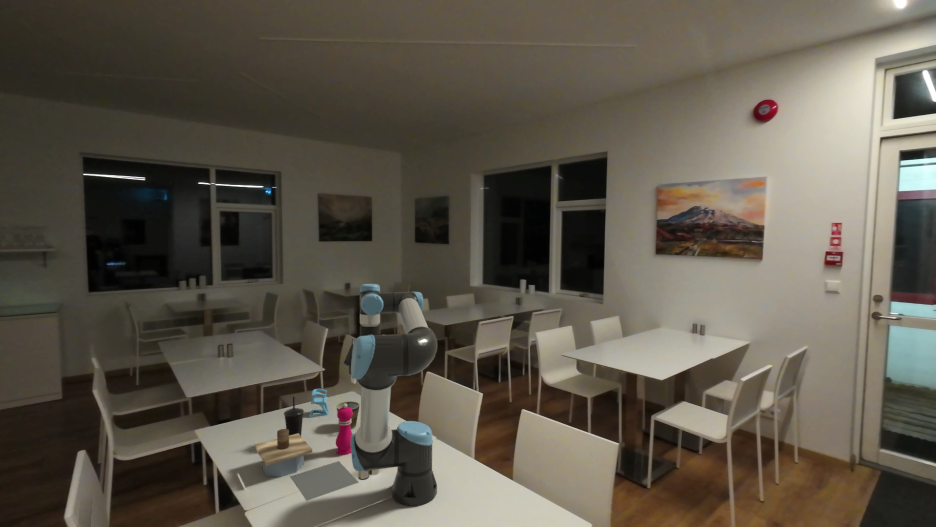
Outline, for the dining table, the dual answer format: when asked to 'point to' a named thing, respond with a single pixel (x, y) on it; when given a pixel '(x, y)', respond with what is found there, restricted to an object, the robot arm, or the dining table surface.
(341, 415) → the pepper mill
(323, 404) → the chair
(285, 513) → the dining table surface
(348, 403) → the ceramic cup
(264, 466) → the bowl
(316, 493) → the mat
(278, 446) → the lid
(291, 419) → the drinking cup
